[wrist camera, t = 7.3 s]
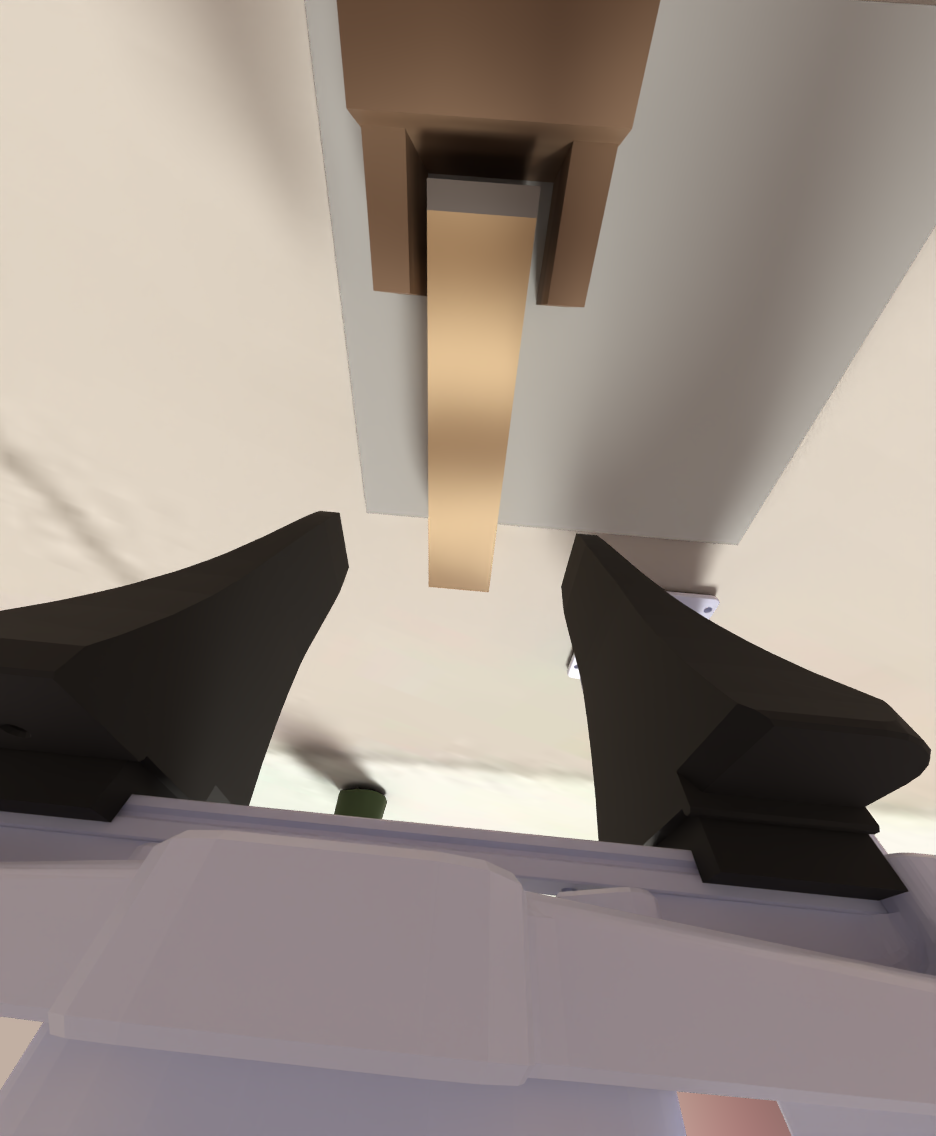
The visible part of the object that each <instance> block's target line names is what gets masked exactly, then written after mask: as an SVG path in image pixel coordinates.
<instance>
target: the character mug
mask: <svg viewBox="0 0 936 1136" xmlns="http://www.w3.org/2000/svg"><path fill="white" fill-rule="evenodd" d="M386 804H387V801H386V798H385V796H384V795H382V794H381V793H379V792H376V791H371V790H362V789H359V788H355V789H353V790H341V791H340V793H339V796H338V800H337V804H336V808H335V813H334V815H343V816H353V817H363V818H373V819H382V817H383V814H384V810H385V807H386Z"/></svg>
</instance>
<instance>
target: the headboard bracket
mask: <svg viewBox="0 0 936 1136" xmlns="http://www.w3.org/2000/svg"><path fill="white" fill-rule="evenodd" d="M660 1H661V0H337V11H338V22H339V34H340V45H341V56H342V67H343V78H344V89H345V100H346V109H347V110H348V111H349V113H350V114H351V115H352V117H353V118H354V119H355V120H356V122H357V123H358V124H359V126H360V127H361V134H362V148H363V161H364V174H365V187H366V200H367V213H368V226H369V239H370V252H371V265H372V278H373V291H379V292H387V293H396V294H406V295H418V296H427V178H428V173H430V174H444V175H457V176H470V177H484V178H497V179H511V180H524V181H538V182H551V183H554V184H553V191H552V198H551V205H550V212H549V219H548V226H547V233H546V240H545V247H544V254H543V261H542V268H541V275H540V282H539V289H538V296H537V302H536V305H545V306H558V307H585V302H586V297H587V292H588V287H589V283H590V278H591V273H592V268H593V264H594V259H595V254H596V249H597V245H598V240H599V235H600V230H601V225H602V221H603V216H604V211H605V206H606V202H607V197H608V192H609V187H610V183H611V178H612V173H613V168H614V163H615V159H616V154H617V149H618V147H619V145H620V144H621V143H622V141H623V140H624V139H625V137H626V136H627V135H628V134H629V132H630V131H631V130H632V127H633V123H634V118H635V114H636V109H637V105H638V100H639V96H640V91H641V86H642V82H643V77H644V73H645V68H646V64H647V59H648V55H649V50H650V46H651V41H652V37H653V32H654V28H655V23H656V19H657V14H658V10H659V5H660Z"/></svg>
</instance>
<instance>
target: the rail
mask: <svg viewBox="0 0 936 1136" xmlns="http://www.w3.org/2000/svg"><path fill="white" fill-rule="evenodd" d="M540 190H541V186H530V185H516V184H503V183H489V182H476V181H462V180H449V179H435V178H427V317H428V540H429V587H437V588H448V589H459V590H470V591H482V592H489V585H490V577H491V569H492V562H493V554H494V546H495V538H496V531H497V523H498V515H499V507H500V500H501V492H502V484H503V476H504V469H505V461H506V453H507V445H508V438H509V430H510V422H511V414H512V407H513V399H514V391H515V383H516V376H517V368H518V360H519V352H520V345H521V337H522V329H523V321H524V314H525V306H526V298H527V290H528V283H529V275H530V267H531V259H532V252H533V244H534V236H535V228H536V221H537V213H538V205H539V197H540Z"/></svg>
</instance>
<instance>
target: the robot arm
mask: <svg viewBox="0 0 936 1136" xmlns="http://www.w3.org/2000/svg"><path fill="white" fill-rule="evenodd" d="M348 568H349V565H348V559H347V553H346V548H345V542H344V536H343V530H342V524H341V519H340V513H336V512H325V511H318V512H315V513H313V514H310V515H308V516H306V517H303V518H301V519H299V520H297V521H295V522H293V523H291V524H289V525H287V526H285V527H283V528H280V529H278V530H276V531H274V532H272V533H270V534H268V535H266V536H264V537H262V538H260V539H257V540H255V541H253V542H250V543H248V544H246V545H244V546H241V547H239V548H237V549H235V550H232V551H230V552H228V553H225V554H223V555H220V556H218V557H215V558H213V559H210V560H207V561H205V562H202V563H199V564H196V565H193V566H190V567H187V568H185V569H181V570H178V571H175V572H172V573H168V574H165V575H161V576H158V577H154V578H151V579H147V580H144V581H141V582H137V583H134V584H130V585H126V586H122V587H118V588H114V589H110V590H105V591H101V592H97V593H92V594H88V595H83V596H78V597H74V598H69V599H64V600H59V601H54V602H49V603H43V604H37V605H31V606H26V607H20V608H14V609H8V610H3V611H0V1016H1V1017H9V1018H16V1019H24V1020H32V1021H40V1022H43V1024H42V1025H41V1027H40V1028H39V1030H38V1032H37V1033H36V1035H35V1036H34V1038H33V1039H32V1041H31V1043H30V1044H29V1046H28V1047H27V1049H26V1051H25V1052H24V1054H23V1055H22V1057H21V1058H20V1060H19V1062H18V1063H17V1065H16V1066H15V1068H14V1069H13V1071H12V1073H11V1074H10V1076H9V1078H8V1079H7V1080H6V1082H5V1084H4V1085H3V1087H2V1088H1V1090H0V1136H686V1131H685V1127H684V1123H683V1118H682V1114H681V1109H680V1105H679V1101H678V1096H677V1092H676V1091H679V1092H690V1093H701V1094H711V1095H721V1096H732V1097H743V1098H753V1099H764V1100H774V1101H777V1102H778V1105H779V1107H780V1110H781V1112H782V1114H783V1117H784V1119H785V1121H786V1124H787V1126H788V1128H789V1130H790V1133H791V1135H792V1136H936V855H928V854H918V853H894V854H888V853H887V852H886V851H885V849H884V848H883V846H882V845H881V844H880V842H879V841H878V839H877V838H876V837H875V835H874V834H876V833H878V832H880V830H879V825H878V824H877V822H876V821H875V820H874V818H873V817H872V815H871V814H870V813H869V811H868V810H867V809H866V807H865V806H867V805H869V804H871V803H873V802H875V801H876V800H878V799H880V798H882V797H884V796H886V795H888V794H889V793H891V792H893V791H895V790H897V789H899V788H900V787H902V786H904V785H906V784H908V783H909V782H911V781H912V780H914V779H915V778H917V777H918V776H920V775H921V773H922V772H923V771H924V770H925V769H926V767H927V766H928V765H929V761H930V754H931V749H930V748H929V747H928V745H927V744H926V743H925V741H924V740H923V739H922V738H921V737H920V736H919V735H918V734H917V733H916V732H915V731H914V730H913V729H912V728H911V727H910V726H909V725H908V724H907V723H906V722H905V721H904V720H903V719H902V718H901V717H900V716H899V715H898V714H897V713H896V712H895V711H894V710H893V709H892V708H891V707H890V706H889V705H888V704H887V703H886V702H884V701H883V700H881V699H878V698H876V697H873V696H871V695H868V694H866V693H863V692H861V691H858V690H856V689H853V688H851V687H848V686H846V685H843V684H841V683H838V682H836V681H833V680H831V679H828V678H826V677H823V676H821V675H818V674H816V673H814V672H811V671H809V670H807V669H805V668H802V667H800V666H798V665H796V664H794V663H791V662H789V661H787V660H785V659H783V658H781V657H778V656H776V655H774V654H772V653H770V652H768V651H766V650H764V649H762V648H760V647H758V646H756V645H754V644H752V643H750V642H748V641H746V640H744V639H742V638H741V637H739V636H737V635H735V634H733V633H731V632H730V631H728V630H726V629H724V628H722V627H720V626H719V625H717V624H715V623H714V622H712V621H710V620H709V619H710V617H711V616H712V614H713V613H714V611H715V610H716V608H717V607H718V605H719V603H720V602H719V600H718V599H717V597H715V596H713V595H701V594H690V593H679V592H668V591H665V590H664V589H662V588H661V587H660V586H658V585H657V584H656V583H654V582H653V581H652V580H650V579H649V578H648V577H647V576H645V575H644V574H643V573H642V572H640V571H639V570H638V569H637V568H636V567H634V566H633V565H632V564H631V563H630V562H628V561H627V560H626V559H625V558H624V557H623V556H621V555H620V554H619V553H618V552H617V551H616V550H615V549H613V548H612V547H611V546H610V545H609V544H607V543H606V542H605V541H604V540H602V539H601V538H600V537H598V536H597V535H586V534H576V537H575V540H574V544H573V547H572V551H571V554H570V558H569V561H568V565H567V568H566V572H565V575H564V579H563V582H562V586H561V588H562V599H563V608H564V615H565V619H566V623H567V627H568V631H569V635H570V639H571V643H572V647H573V651H574V653H573V656H572V659H571V662H570V664H569V667H568V670H567V674H568V676H569V677H571V678H578V679H580V681H581V685H582V690H583V694H584V701H585V708H586V715H587V722H588V730H589V739H590V747H591V755H592V766H593V776H594V786H595V797H596V811H597V824H598V838H599V841H592V840H582V839H572V838H562V837H552V836H542V835H532V834H522V833H512V832H502V831H492V830H482V829H472V828H462V827H453V826H443V825H433V824H423V823H413V822H403V821H393V820H383V819H373V818H363V817H353V816H343V815H333V814H323V813H313V812H304V811H294V810H284V809H274V808H264V807H254V806H249V804H250V801H251V797H252V794H253V791H254V788H255V785H256V782H257V779H258V775H259V772H260V769H261V766H262V763H263V760H264V757H265V754H266V752H267V749H268V746H269V743H270V740H271V737H272V735H273V732H274V729H275V726H276V723H277V721H278V718H279V716H280V713H281V710H282V708H283V705H284V703H285V700H286V698H287V695H288V692H289V690H290V688H291V685H292V683H293V681H294V678H295V676H296V674H297V671H298V669H299V666H300V664H301V662H302V660H303V658H304V656H305V654H306V652H307V650H308V648H309V646H310V645H311V643H312V641H313V639H314V638H315V636H316V634H317V632H318V631H319V629H320V627H321V625H322V623H323V622H324V620H325V618H326V616H327V615H328V613H329V611H330V609H331V607H332V606H333V604H334V602H335V600H336V598H337V596H338V594H339V592H340V590H341V587H342V585H343V582H344V579H345V577H346V574H347V571H348ZM707 607H708V608H707ZM705 608H706V609H705ZM542 894H546V895H542ZM547 895H556V897H552V896H547Z"/></svg>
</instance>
